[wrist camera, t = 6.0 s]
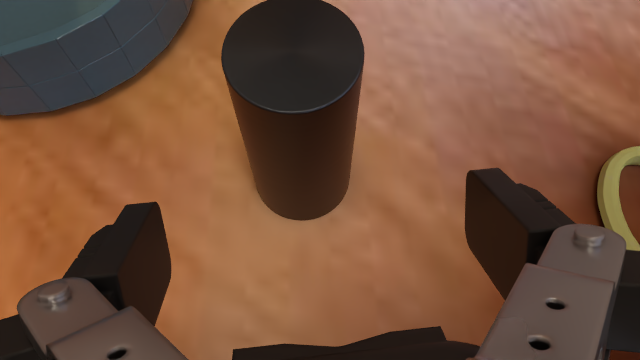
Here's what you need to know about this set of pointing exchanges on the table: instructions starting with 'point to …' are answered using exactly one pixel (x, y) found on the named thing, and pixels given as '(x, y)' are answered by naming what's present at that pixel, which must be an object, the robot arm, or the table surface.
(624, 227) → the key
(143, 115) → the table surface
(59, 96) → the bowl
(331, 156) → the black cylinder
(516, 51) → the table surface
